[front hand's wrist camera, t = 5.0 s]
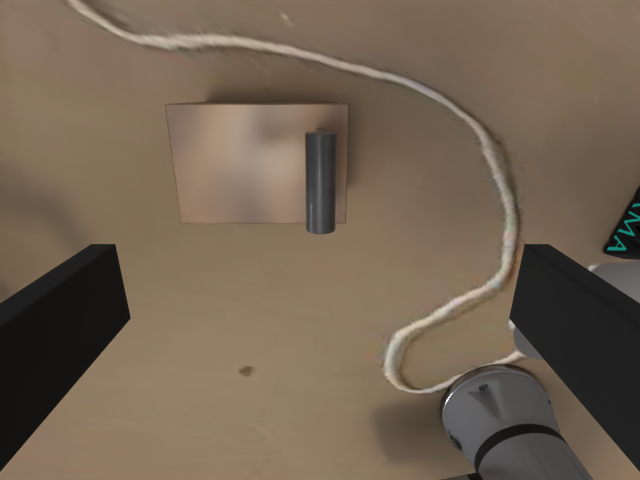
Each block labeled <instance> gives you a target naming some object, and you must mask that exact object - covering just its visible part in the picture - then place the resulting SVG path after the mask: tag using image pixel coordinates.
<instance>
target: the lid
mask: <svg viewBox="0 0 640 480" xmlns="http://www.w3.org/2000/svg"><path fill="white" fill-rule="evenodd" d="M165 109H166V116H167V123H168V130H169V138H170V145H171V152H172V159H173V167H174V174H175V181H176V188H177V196H178V203H179V210H180V217H181V223H182V224H306V229H307V231H308V232H310V233H314V234H327V233H331V232H333V231H335V223H346V198H347V159H348V120H349V104H165Z"/></svg>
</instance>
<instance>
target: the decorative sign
mask: <svg viewBox="0 0 640 480" xmlns="http://www.w3.org/2000/svg"><path fill="white" fill-rule="evenodd" d="M636 198H637V199H639V200H633V201H632V202H631V203H630V205H629V207H628V209H627V210H626V212H625V217H624V218H622V220H621V222H620V224H621V225H619V226H617V227H616V229H615V231H614V233H613V234H612V236H611V241H612V242H613V243H608V244H607V245H606V246H605V248H604V253H605V254H608V255H612V256H615V257H619V258H623V259H639V260H640V188H639V190H638V191H637V193H636Z"/></svg>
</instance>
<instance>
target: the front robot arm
mask: <svg viewBox="0 0 640 480" xmlns="http://www.w3.org/2000/svg"><path fill="white" fill-rule="evenodd" d="M129 320H130V313H129V308H128V303H127V299H126V294H125V289H124V284H123V279H122V275H121V270H120V265H119V260H118V255H117V251H116V246H115V244H91V245H89V246H88V247H86V248H85V249H83V250H82V251H80V252H79V253H77V254H76V255H74V256H73V257H71V258H69V259H68V260H66V261H65V262H63V263H62V264H60V265H59V266H57V267H56V268H54V269H53V270H51V271H49V272H48V273H46V274H45V275H43V276H42V277H40V278H39V279H37V280H36V281H34V282H33V283H31V284H30V285H28V286H26V287H25V288H23V289H22V290H20V291H19V292H17V293H16V294H14V295H13V296H11V297H10V298H8V299H6V300H5V301H3V302H2V303H0V471H1V470H2V469H3V468H4V467H5V465H6V464H7V463H8V462H9V461H10V460H11V458H12V457H13V456H14V455H15V454H16V453H17V451H18V450H19V449H20V448H21V447H22V445H23V444H24V443H25V442H26V441H27V440H28V438H29V437H30V436H31V435H32V434H33V433H34V431H35V430H36V429H37V428H38V427H39V425H40V424H41V423H42V422H43V421H44V420H45V418H46V417H47V416H48V415H49V414H50V413H51V411H52V410H53V409H54V408H55V407H56V405H57V404H58V403H59V402H60V401H61V400H62V398H63V397H64V396H65V395H66V394H67V393H68V391H69V390H70V389H71V388H72V387H73V385H74V384H75V383H76V382H77V381H78V380H79V378H80V377H81V376H82V375H83V374H84V373H85V371H86V370H87V369H88V368H89V367H90V365H91V364H92V363H93V362H94V361H95V360H96V358H97V357H98V356H99V355H100V354H101V353H102V351H103V350H104V349H105V348H106V347H107V345H108V344H109V343H110V342H111V341H112V340H113V338H114V337H115V336H116V335H117V334H118V333H119V331H120V330H121V329H122V328H123V327H124V325H125V324H126V323H127V322H128V321H129ZM510 320H511V321H512V322H513V323H514V324H515V325H516V327H517V328H518V329H519V330H520V331H521V333H522V334H523V335H524V336H525V337H526V338H527V340H528V341H529V342H530V343H531V344H532V345H533V347H534V348H535V349H536V350H537V351H538V353H539V354H540V355H541V356H542V357H543V358H544V360H545V361H546V362H547V363H548V364H549V365H550V367H551V368H552V369H553V370H554V371H555V373H556V374H557V375H558V376H559V377H560V378H561V380H562V381H563V382H564V383H565V384H566V385H567V387H568V388H569V389H570V390H571V391H572V393H573V394H574V395H575V396H576V397H577V398H578V400H579V401H580V402H581V403H582V404H583V405H584V407H585V408H586V409H587V410H588V411H589V413H590V414H591V415H592V416H593V417H594V418H595V420H596V421H597V422H598V423H599V424H600V425H601V427H602V428H603V429H604V430H605V431H606V433H607V434H608V435H609V436H610V437H611V438H612V440H613V441H614V442H615V443H616V444H617V445H618V447H619V448H620V449H621V450H622V451H623V453H624V454H625V455H626V456H627V457H628V458H629V460H630V461H631V462H632V463H633V464H634V465H635V467H636V468H637V469H638V470H639V471H640V303H638V302H637V301H635V300H634V299H632V298H630V297H629V296H627V295H626V294H624V293H623V292H621V291H620V290H618V289H617V288H615V287H613V286H612V285H610V284H609V283H607V282H606V281H604V280H603V279H601V278H600V277H598V276H597V275H595V274H594V273H592V272H591V271H589V270H587V269H586V268H584V267H583V266H581V265H580V264H578V263H577V262H575V261H574V260H572V259H571V258H569V257H567V256H566V255H564V254H563V253H561V252H560V251H558V250H557V249H555V248H554V247H552V246H551V245H549V244H525V246H524V251H523V255H522V260H521V265H520V270H519V275H518V279H517V284H516V289H515V294H514V299H513V303H512V308H511V313H510ZM440 416H441V420H442V423H443V426H444V428H445V431H446V433H447V434H448V436H449V438H450V439H451V442H452V444H453V446H455V447H456V448H458V449H459V450H460V451H461V452H462V454H463V455H464V456H465V457H466V459H467V460H468V461H469V462H470V463H471V465H472V466H473V467H474V468H475V471H476V473H472V474H468V475H462V476H457V477H452V478H447V479H442V480H593V479H592V477H591V476H590V475H589V473H588V472H587V470H586V469H585V468H584V466H583V465H582V463H581V462H580V461H579V459H578V458H577V457H576V455H575V454H574V452H573V451H572V450H571V448H570V447H569V445H568V444H567V443H566V441H565V440H564V438H563V437H562V436H561V434H560V431H559V428H558V425H557V422H556V420H555V417H554V415H553V409H552V404H551V401H550V398H549V396H548V394H547V392H546V390H545V389H544V387H543V386H542V385H541V383H540V382H539V381H538V380H537V379H536V377H534V376H533V375H532V374H531V373H529V372H527V371H526V370H523V369H521V368H518V367H514V366H508V365H494V366H487V367H483V368H479V369H476V370H474V371H472V372H469V373H468V374H466V375H464V376H462V377H461V378H460V379H458V380H457V381H456V382H455V383H454V384H453V385H452V386H451V387H450V388H449V389H448V391H447V392H446V394H445V395H444V397H443V400H442V403H441V407H440Z"/></svg>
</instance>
